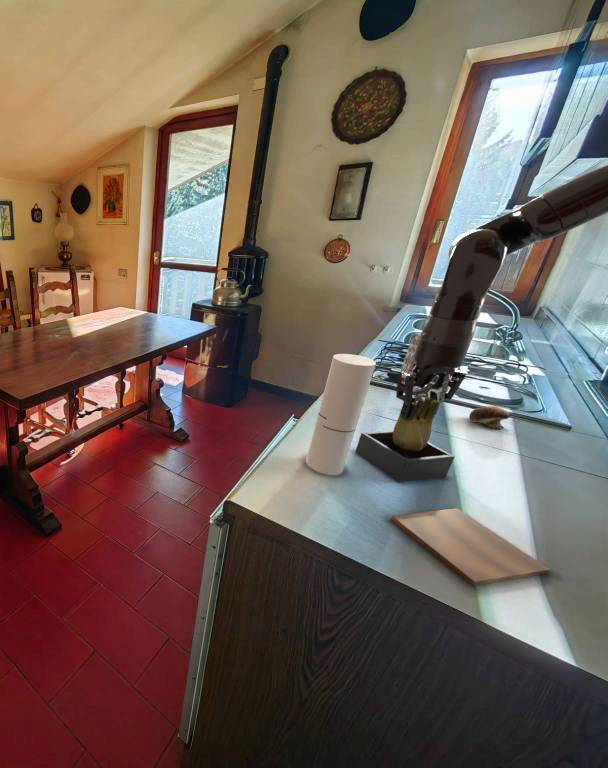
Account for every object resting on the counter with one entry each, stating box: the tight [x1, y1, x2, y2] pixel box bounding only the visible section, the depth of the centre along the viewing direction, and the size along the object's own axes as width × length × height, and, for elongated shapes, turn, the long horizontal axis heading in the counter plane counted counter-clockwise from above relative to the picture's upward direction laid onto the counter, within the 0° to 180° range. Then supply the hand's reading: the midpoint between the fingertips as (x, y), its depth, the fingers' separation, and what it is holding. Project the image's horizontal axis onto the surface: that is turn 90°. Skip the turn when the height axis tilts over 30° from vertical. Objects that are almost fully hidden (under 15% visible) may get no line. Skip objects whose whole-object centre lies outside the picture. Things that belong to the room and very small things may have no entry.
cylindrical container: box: [305, 353, 377, 476], centre depth 81 cm, size 7×7×25 cm
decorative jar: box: [400, 332, 422, 374], centre depth 132 cm, size 12×12×18 cm
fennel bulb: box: [393, 396, 441, 452], centre depth 82 cm, size 6×5×12 cm
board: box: [390, 507, 551, 587], centre depth 64 cm, size 14×14×1 cm
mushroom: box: [468, 405, 511, 430], centre depth 104 cm, size 8×8×6 cm
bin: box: [355, 429, 455, 483], centre depth 85 cm, size 12×12×6 cm
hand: (416, 417), depth 82 cm, fingers closed on fennel bulb, 4 cm apart
